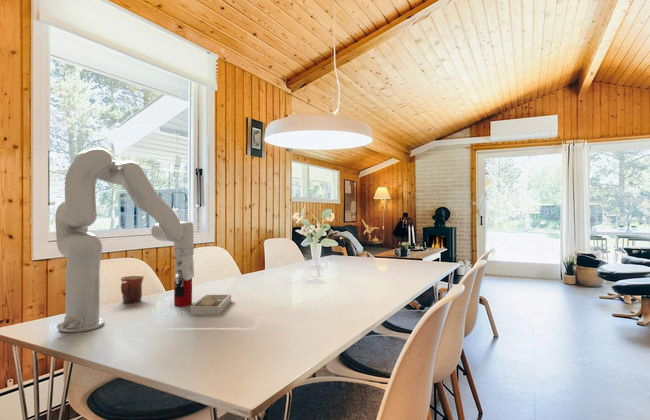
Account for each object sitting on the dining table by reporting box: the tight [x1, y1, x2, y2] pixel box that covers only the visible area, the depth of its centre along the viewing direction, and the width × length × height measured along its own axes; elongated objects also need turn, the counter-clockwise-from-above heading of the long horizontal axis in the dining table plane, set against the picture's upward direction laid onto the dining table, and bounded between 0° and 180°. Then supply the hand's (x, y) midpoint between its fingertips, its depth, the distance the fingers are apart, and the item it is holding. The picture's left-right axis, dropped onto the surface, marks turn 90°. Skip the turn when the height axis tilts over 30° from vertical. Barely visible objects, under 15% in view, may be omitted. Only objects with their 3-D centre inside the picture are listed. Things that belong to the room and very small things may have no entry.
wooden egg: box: [201, 294, 217, 306], centre depth 143 cm, size 6×6×6 cm
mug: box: [120, 275, 145, 304], centre depth 157 cm, size 12×9×10 cm
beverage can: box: [173, 278, 193, 308], centre depth 152 cm, size 7×7×12 cm
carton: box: [189, 294, 232, 316], centre depth 148 cm, size 20×11×4 cm, turn 2°
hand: (184, 293), depth 153 cm, fingers open, 9 cm apart
